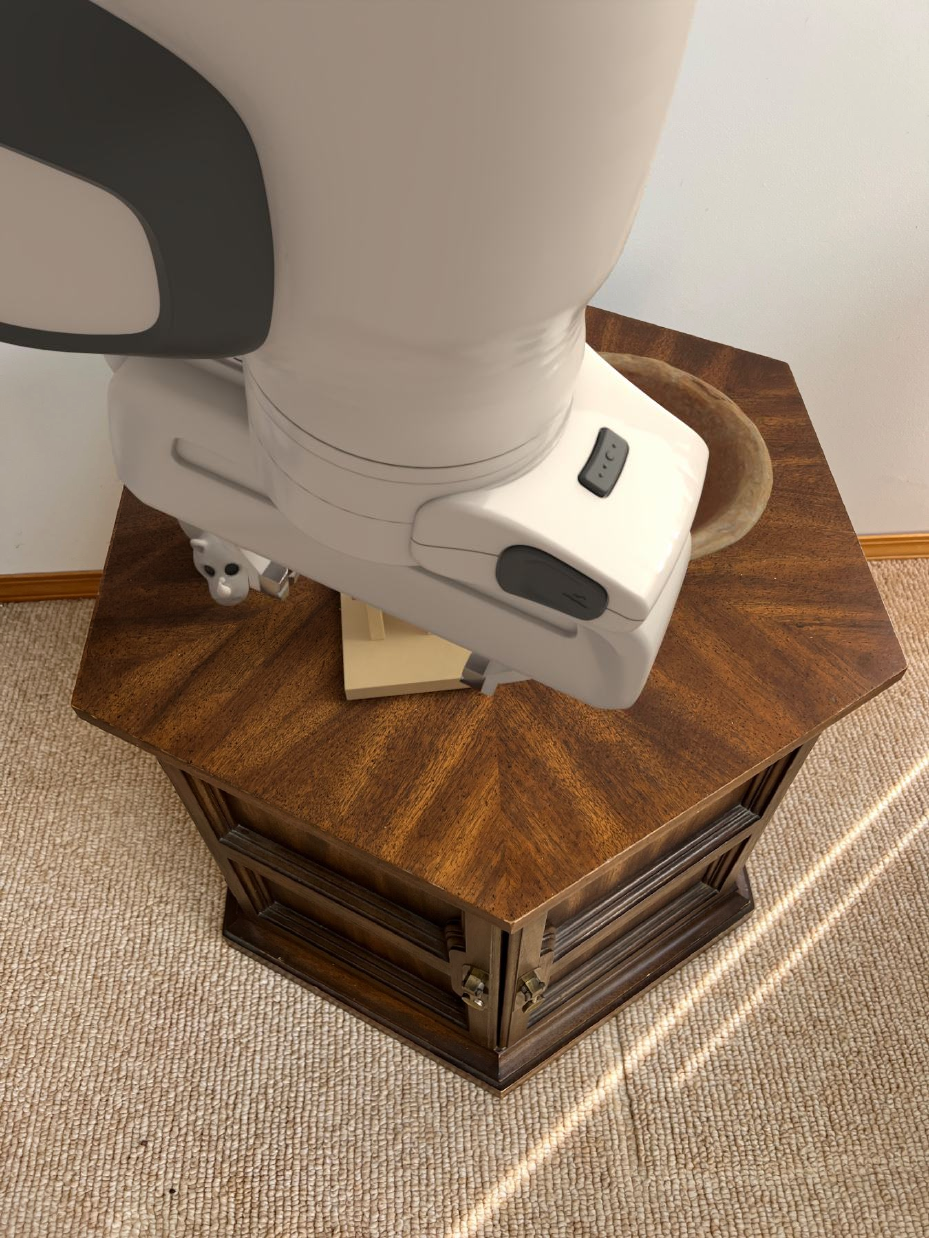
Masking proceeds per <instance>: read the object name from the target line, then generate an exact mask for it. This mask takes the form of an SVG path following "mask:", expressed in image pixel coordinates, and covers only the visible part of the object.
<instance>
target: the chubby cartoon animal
mask: <svg viewBox="0 0 929 1238" xmlns="http://www.w3.org/2000/svg"><path fill="white" fill-rule="evenodd" d="M177 522H178V524H179V526H180V528H181V530H182V531H183V532H184V534H185V535H186V536H187V537H188V538H189V539H190V540H189V543H190V546H191V548H192V549H193V551H192V554H193V555H192V556H193V557H192V558H193V563H194V567H195V568H196V570H197V571H198V572H199V574H201V575H202V576H203V577H204V578H205V580H206V581H207V583H208V589H209V594H210V596H211V598H212V599H213V601H215V602H217V603H218V605H219V604H220V605H222V606H226V607H233V606H236V605H239V604H241V603H242V602H243V601H245V599H246V598H247V596H248V594H249V590H250V584H249V577H248V570H247V569H246V568H244V567H243V566H242V565H241V563H240V562H239V561H238V560H237V559H236V558H235V557H234V556H233V555H232V554H231V553H230V551H229V550H228V549H227V548H226V547H225V546H224V545H223V544H222V543H221V542H220V541H219V539H218V538H217V536H215V535H213V534H210V533H208V532H206V531H204V530H202V529H199V528H197V527H195V526H193V525H191V524H188V523H186V522H184V521H182V520H179V519H177Z"/></svg>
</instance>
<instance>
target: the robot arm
mask: <svg viewBox="0 0 929 1238" xmlns="http://www.w3.org/2000/svg"><path fill="white" fill-rule="evenodd" d="M697 3H698V0H0V343H4V344H7V345H13V346H17V347H23V348H27V349H35V350H40V351H50V352H58V353H73V354H92V355H102V356H103V358H104V360H105V362H106V363H107V365H108V367H109V368H110V370H111V371H112V372H113V375H112V377H111V378H110V381H109V383H108V387H107V392H106V417H107V419H106V420H107V427H108V437H109V445H110V450H111V456H112V460H113V464H114V469H115V472H116V475H117V477H118V479H119V480H120V481H121V482H122V483H123V485H124V486H125V487H126V488H127V489H128V490H129V491H130V492H131V494H133V495H134V496H135V497H136V498H137V499H138V500H139V501H141V503H142V504H144V505H146V506H149V507H150V508H153V509H155V510H157V511H160V512H161V513H165V515H168V516H171V517H173V518H175V519H177V520H178V519H179V520H182V521H184V522H186V523H188V524H191V525H193V526H195V527H197V528H199V529H202V530H204V531H206V532H208V533H210V534H213V535H215V536H217V538H218V539H219V541H220V542H221V543H222V544H223V545H224V546H225V547H226V548H227V549H228V550H229V551H230V553H231V554H232V555H233V556H234V557H235V558H236V559H237V560H238V561H239V562H240V563H241V565H242V566H243V567H244V568H246V569H247V570H248V582H249V588H250V589H253V590H255V591H258V592H260V593H262V594H264V595H267V596H269V597H271V598H273V599H275V600H278V601H279V602H283V601H285V600H286V599H287V597H288V595H289V594H290V587H292V586H294V585H295V584H296V582H297V581H298V579H299V577H300V576H304V577H306V578H307V579H310V580H312V581H314V582H317V583H318V584H321V585H324V586H326V587H327V588H329V589H332V590H334V591H337V592H338V593H340V594H341V593H343V594H345V595H347V596H350V597H352V598H354V599H356V600H358V601H361V602H363V603H365V604H367V605H369V606H372V607H374V608H376V609H378V610H380V611H383V612H385V613H387V614H389V615H392V616H394V617H396V618H398V619H400V620H403V621H405V622H407V623H409V624H411V625H414V626H416V627H418V628H420V629H423V630H425V631H427V632H429V633H431V634H434V635H436V636H438V637H440V638H442V639H445V640H447V641H449V642H451V643H453V644H456V645H458V646H460V647H462V648H465V649H467V650H469V651H471V652H472V653H471V654H470V656H469V658H468V660H467V662H466V664H465V666H464V669H463V672H462V676H461V678H460V681H459V682H461V683H463V684H465V685H467V686H469V687H470V688H471V689H474V690H476V691H478V692H479V693H481V694H483V695H486V696H488V697H491V698H492V697H493V696H494V694H495V691H496V689H497V687H498V685H502V684H509V683H517V682H523V681H530V680H533V681H535V682H537V683H540V684H542V685H544V686H547V687H549V688H551V689H553V690H555V691H557V692H559V693H562V694H564V695H566V696H569V697H570V698H573V699H576V700H577V701H579V702H582V703H583V704H584V705H585V704H586V705H587V706H590V707H592V708H595V709H599V710H609V711H610V710H611V711H612V710H626V709H629V708H631V707H632V706H633V705H634V704H635V702H636V701H637V700H638V698H639V697H640V695H641V694H642V692H643V689H644V688H645V685H646V683H647V680H648V679H649V676H650V673H651V671H652V668H653V666H654V663H655V660H656V658H657V656H658V654H659V650H660V647H661V646H662V643H663V641H664V637H665V635H666V632H667V630H668V626H669V624H670V621H671V619H672V615H673V612H674V610H675V607H676V604H677V600H678V597H679V595H680V592H681V590H682V589H681V588H682V586H683V583H684V580H685V577H686V574H687V570H688V566H689V564H690V563H689V562H690V561H689V559H690V555H691V534H690V529H691V526H692V523H693V520H694V517H695V513H696V510H697V507H698V503H699V500H700V496H701V492H702V488H703V484H704V479H705V474H706V469H707V463H708V458H709V451H708V447H707V445H706V444H705V442H704V441H703V439H702V438H701V437H700V436H699V435H698V434H697V433H696V432H695V431H693V430H692V429H691V428H690V427H688V426H687V425H686V424H685V423H683V422H682V421H680V420H679V419H678V418H676V417H675V416H674V415H672V414H671V413H670V412H668V411H667V410H665V409H664V408H663V407H662V406H660V405H659V404H658V403H656V402H655V401H654V400H652V399H651V398H650V397H648V396H647V395H646V394H644V393H643V392H642V391H641V390H639V389H638V388H637V387H636V386H634V385H633V384H632V383H631V382H629V381H628V380H627V379H626V378H625V377H623V376H622V375H621V374H620V373H619V372H617V371H616V370H615V369H614V368H613V367H612V366H610V365H609V364H608V363H607V362H606V361H605V360H604V359H603V358H602V357H600V356H599V355H598V354H597V353H596V352H597V351H595V349H593V348H592V347H591V346H590V344H588V343H587V342H586V340H587V339H586V337H587V329H586V310H587V306H588V304H589V303H590V302H591V300H592V299H593V298H594V297H595V296H596V294H597V293H598V292H599V290H600V289H601V288H602V287H603V285H604V284H605V283H606V282H607V280H608V279H609V277H610V275H611V274H612V272H613V270H614V269H615V267H616V265H617V263H618V261H619V260H620V259H621V256H622V255H623V253H624V252H623V251H624V249H625V247H626V245H627V242H628V239H629V237H630V235H631V232H632V229H633V226H634V223H635V220H636V217H637V214H638V211H639V208H640V205H641V202H642V200H643V196H644V194H645V191H646V187H647V184H648V181H649V179H650V176H651V172H652V168H653V165H654V163H655V159H656V156H657V153H658V151H659V146H660V143H661V141H662V137H663V134H664V130H665V127H666V123H667V120H668V116H669V113H670V110H671V106H672V103H673V99H674V96H675V92H676V89H677V85H678V81H679V78H680V74H681V73H680V72H681V69H682V66H683V63H684V58H685V54H686V50H687V46H688V42H689V38H690V34H691V31H692V25H693V22H694V18H695V12H696V8H697Z"/></svg>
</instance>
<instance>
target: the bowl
mask: <svg viewBox="0 0 929 1238" xmlns="http://www.w3.org/2000/svg"><path fill="white" fill-rule="evenodd" d="M595 352H596V353H597V354H598V355H599V356H600V357H602V358H603V359H604V360H605V361H606V362H607V363H608V364H609V365H610V366H612V367H613V368H614V369H615V370H616V371H617V372H619V373H620V374H621V375H622V376H623V377H625V378H626V379H627V380H628V381H629V382H631V383H632V384H633V385H634V386H636V387H637V388H638V389H639V390H641V391H642V392H643V393H644V394H646V395H647V396H648V397H650V398H651V399H652V400H654V401H655V402H656V403H658V404H659V405H660V406H662V407H663V408H664V409H665V410H667V411H668V412H670V413H671V414H672V415H674V416H675V417H676V418H678V419H679V420H680V421H682V422H683V423H685V424H686V425H687V426H688V427H690V428H691V429H692V430H693V431H695V432H696V433H697V434H698V435H699V436H700V437H701V438H702V439H703V441H704V442H705V444H706V445H707V447H708V451H709V458H708V463H707V469H706V474H705V479H704V484H703V488H702V492H701V496H700V500H699V503H698V507H697V510H696V513H695V517H694V520H693V523H692V526H691V529H690V534H691V555H690V559H689V562H691V561H694V560H697V559H700V558H703V557H705V556H708V555H710V554H712V553H716V552H718V551H720V550H722V549H724V548H727V547H729V546H732V545H734V544H736V543H737V542H738V541H740V540H741V539H742V538H743V537H744V536H745V535H746V534H748V533H749V532H750V531H751V530H752V529H753V527H754V526H755V525H756V524H757V522H758V521H759V519H760V518H761V516H762V514H763V513H764V511H765V510H766V508H767V505H768V501H769V499H770V498H771V493H772V489H773V485H774V474H773V473H774V471H773V464H772V460H771V456H770V452H769V450H768V447H767V444H766V442H765V440H764V438H763V436H762V434H761V433H760V431H759V429H758V427H757V425H756V424H755V423H754V422H753V421H752V419H750V418H749V417H748V415H746V414H745V413H744V411H743V410H742V409H741V408H740V407H739V405H738V404H736V402H735V401H733V400H732V399H731V398H730V397H729V396H727V395H726V394H725V393H723V392H722V391H720V390H719V389H717V388H716V387H714V386H713V385H711V384H710V383H708V382H706V381H704V380H703V379H701V378H699V377H697V376H695V375H692V374H691V373H689V372H688V371H684V370H682V369H679V368H676V367H675V366H672V365H670V364H669V363H667V362H666V361H663V360H660V359H657V358H653V357H647V356H646V357H645V356H640V355H635V354H632V353H618V352H607V351H595Z"/></svg>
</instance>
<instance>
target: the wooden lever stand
mask: <svg viewBox="0 0 929 1238" xmlns="http://www.w3.org/2000/svg"><path fill="white" fill-rule="evenodd" d="M340 611H341V612H340V613H341V634H342V635H341V636H342V638H341V639H342V657H343V658H342V659H343V660H342V661H343V682H344V685H343V687H344V694H345V698H346V700H347V701H353V700H361V699H362V700H363V699H371V698H373V699H374V698H382V697H392V696H393V697H394V696H400V695H401V696H402V695H411V694H420V693H421V694H422V693H430V692H440V691H441V692H442V691H449V690H458V689H459V690H461V689H469V688H471V687H469V686H467V685H465V684H463V683H461V682H459V681H460V678H461V676H462V672H463V669H464V666H465V664H466V662H467V660H468V658H469V656H470V654H471V653H472V652H471V651H469V650H467V649H465V648H462V647H460V646H458V645H456V644H453V643H451V642H449V641H447V640H445V639H442V638H440V637H438V636H436V635H434V634H431V633H429V632H427V631H425V630H423V629H420V628H418V627H416V626H414V625H411V624H409V623H407V622H405V621H403V620H400V619H398V618H396V617H394V616H392V615H389V614H387V613H385V612H383V611H380V610H378V609H376V608H374V607H372V606H369V605H367V604H365V603H363V602H361V601H358V600H352V597H350V596H347V595H345V594H343V593H341V592H340Z"/></svg>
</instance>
